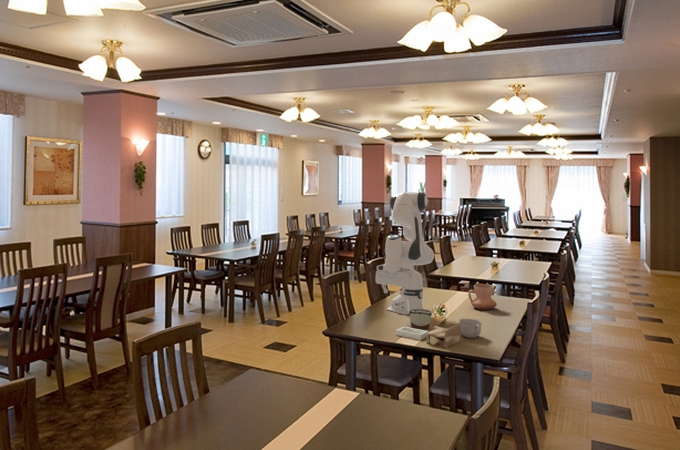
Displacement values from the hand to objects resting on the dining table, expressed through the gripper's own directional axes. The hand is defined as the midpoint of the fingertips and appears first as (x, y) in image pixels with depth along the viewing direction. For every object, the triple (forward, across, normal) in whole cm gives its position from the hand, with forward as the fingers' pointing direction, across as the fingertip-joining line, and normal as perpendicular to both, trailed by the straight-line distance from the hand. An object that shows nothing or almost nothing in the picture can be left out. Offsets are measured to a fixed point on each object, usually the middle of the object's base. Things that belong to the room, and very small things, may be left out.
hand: (393, 293), depth 263 cm
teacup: (+20, -36, -15) cm, 44 cm away
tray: (+20, -11, 0) cm, 23 cm away
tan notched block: (+20, -26, +1) cm, 33 cm away
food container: (+20, -9, -14) cm, 26 cm away
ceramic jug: (+20, -18, -78) cm, 82 cm away
